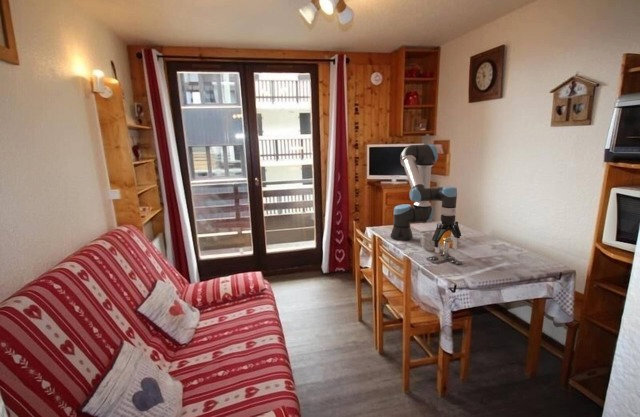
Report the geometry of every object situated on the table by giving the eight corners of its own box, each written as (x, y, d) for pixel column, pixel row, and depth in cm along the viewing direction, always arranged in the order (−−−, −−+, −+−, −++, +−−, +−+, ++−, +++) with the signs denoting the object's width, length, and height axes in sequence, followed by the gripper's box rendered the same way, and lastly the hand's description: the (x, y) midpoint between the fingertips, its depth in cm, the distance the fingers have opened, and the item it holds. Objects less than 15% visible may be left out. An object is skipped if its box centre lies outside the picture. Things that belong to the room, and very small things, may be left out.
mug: (415, 248, 205) (415, 233, 203) (425, 246, 208) (426, 231, 206) (427, 254, 195) (428, 238, 193) (438, 251, 198) (439, 236, 196)
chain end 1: (445, 255, 189) (445, 252, 188) (454, 259, 183) (455, 255, 182) (425, 259, 182) (425, 256, 182) (434, 264, 176) (434, 260, 176)
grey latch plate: (436, 259, 186) (436, 256, 186) (445, 257, 189) (445, 254, 189) (456, 268, 173) (456, 264, 173) (465, 265, 176) (466, 262, 176)
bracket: (456, 248, 202) (457, 230, 200) (444, 249, 202) (446, 231, 199) (448, 243, 213) (449, 226, 210) (437, 244, 213) (438, 226, 210)
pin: (440, 259, 186) (441, 238, 183) (445, 258, 187) (446, 237, 184) (445, 261, 182) (447, 240, 179) (450, 260, 184) (452, 239, 181)
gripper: (436, 218, 170) (434, 256, 175) (469, 213, 181) (466, 248, 185) (426, 215, 177) (424, 252, 181) (458, 210, 187) (456, 244, 192)
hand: (446, 250), depth 183 cm, fingers open, 13 cm apart
